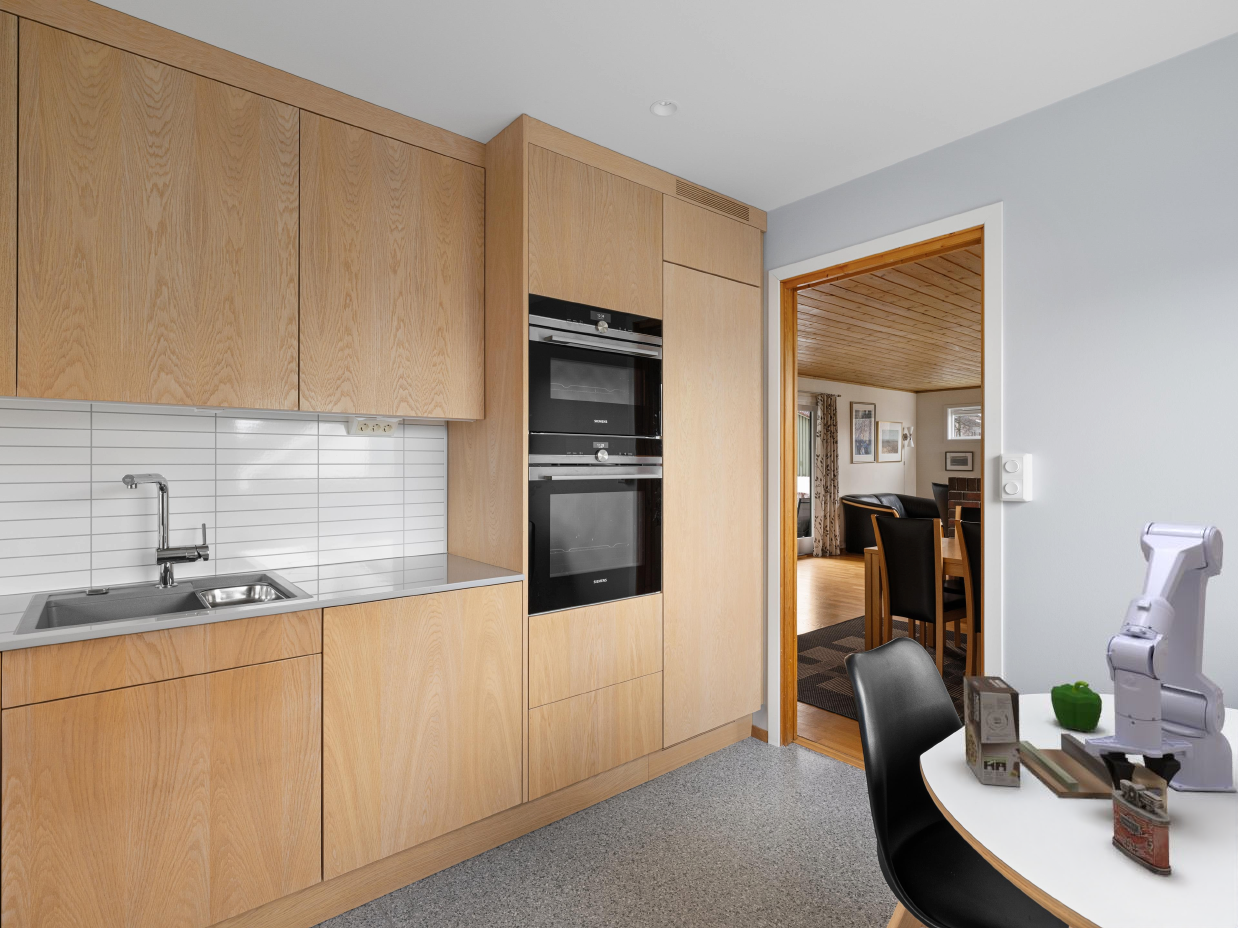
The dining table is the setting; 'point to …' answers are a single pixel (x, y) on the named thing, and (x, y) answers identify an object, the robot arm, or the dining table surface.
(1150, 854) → the lighter
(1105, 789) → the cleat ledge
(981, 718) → the coffee box
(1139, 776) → the oak cabinet block
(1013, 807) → the dining table surface
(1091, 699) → the bell pepper
